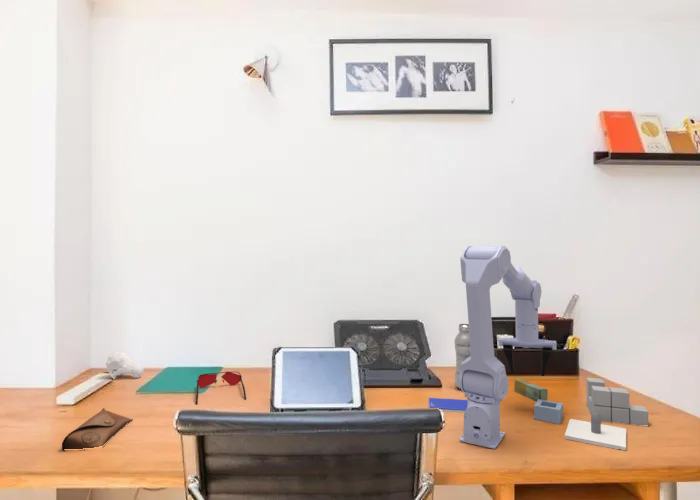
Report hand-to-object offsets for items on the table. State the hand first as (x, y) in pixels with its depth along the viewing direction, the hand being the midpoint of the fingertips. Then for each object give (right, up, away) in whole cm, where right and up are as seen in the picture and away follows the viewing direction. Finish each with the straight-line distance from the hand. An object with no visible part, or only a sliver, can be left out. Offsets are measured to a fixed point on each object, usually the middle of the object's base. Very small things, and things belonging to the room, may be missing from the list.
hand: (527, 373), depth 122 cm
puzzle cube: (+21, -10, -4) cm, 24 cm away
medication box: (+5, -10, +11) cm, 16 cm away
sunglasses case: (-107, -10, -17) cm, 109 cm away
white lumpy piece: (-124, -10, +30) cm, 128 cm away
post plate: (+9, -10, -17) cm, 22 cm away
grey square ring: (+3, -10, -7) cm, 12 cm away
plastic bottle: (-12, -10, +18) cm, 24 cm away
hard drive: (-20, -10, +2) cm, 23 cm away
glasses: (-87, -10, +13) cm, 89 cm away
